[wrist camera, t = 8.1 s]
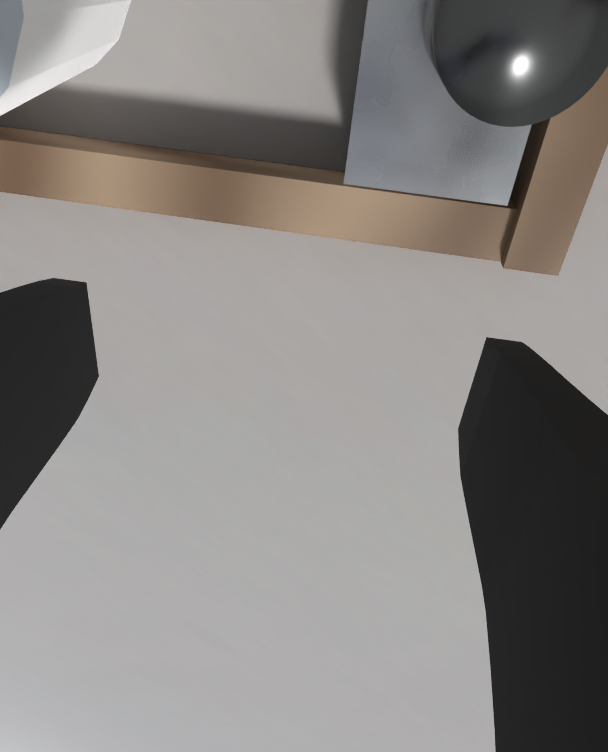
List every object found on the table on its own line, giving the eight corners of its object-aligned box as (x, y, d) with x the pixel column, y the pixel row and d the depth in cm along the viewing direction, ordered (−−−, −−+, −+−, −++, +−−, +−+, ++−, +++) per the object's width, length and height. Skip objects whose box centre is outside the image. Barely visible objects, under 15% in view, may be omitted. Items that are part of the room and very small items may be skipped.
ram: (349, 161, 18) (329, 242, 12) (400, -216, 13) (406, -375, 7) (494, 181, 17) (542, 272, 12) (599, -196, 13) (763, -343, 7)
